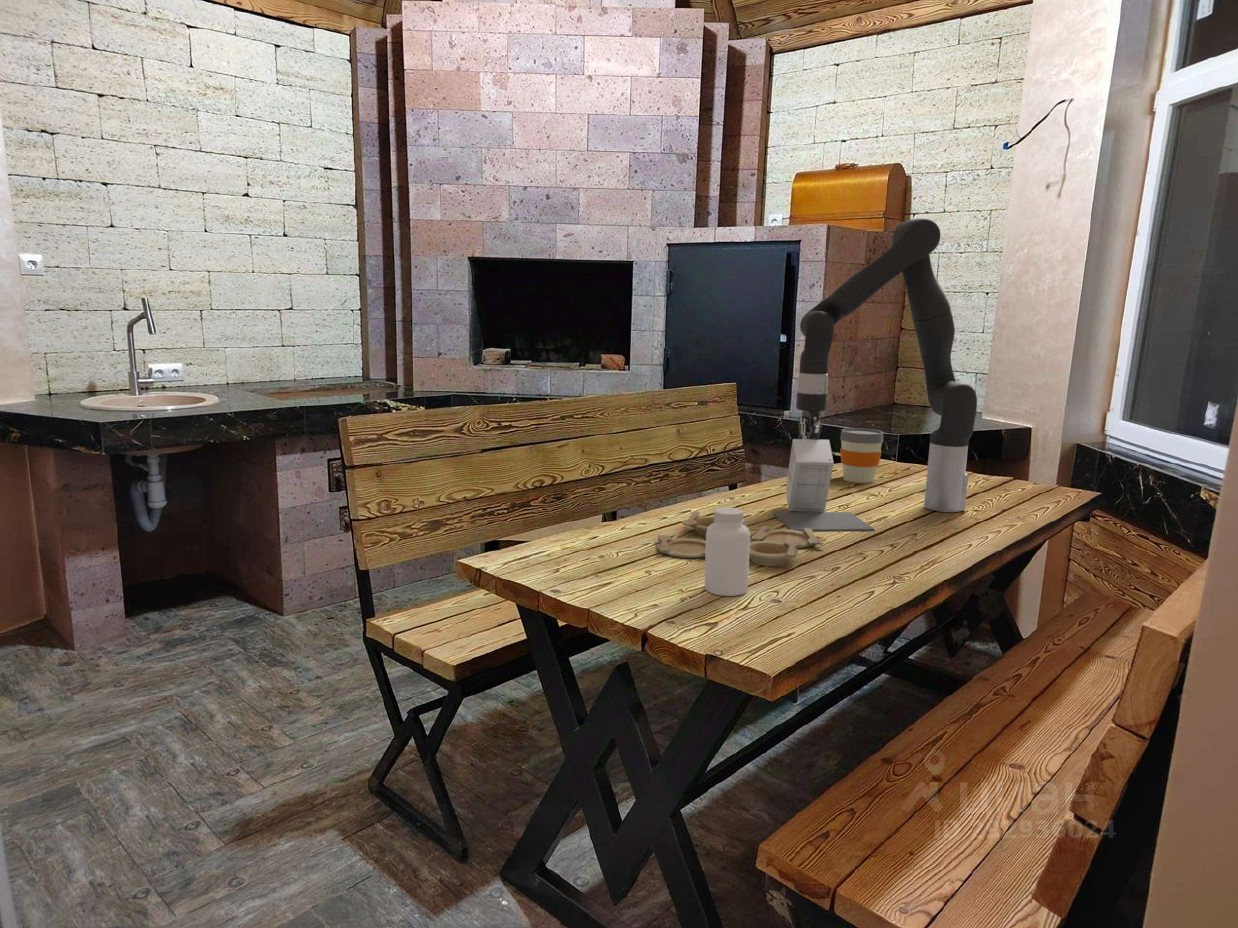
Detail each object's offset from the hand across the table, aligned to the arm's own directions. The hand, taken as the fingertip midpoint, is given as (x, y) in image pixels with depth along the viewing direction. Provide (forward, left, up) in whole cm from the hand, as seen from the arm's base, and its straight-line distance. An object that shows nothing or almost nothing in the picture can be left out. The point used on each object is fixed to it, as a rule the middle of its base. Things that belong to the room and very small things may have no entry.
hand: (807, 458), depth 210 cm
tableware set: (+25, +33, -14) cm, 43 cm away
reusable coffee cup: (-28, -35, -13) cm, 47 cm away
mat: (0, +14, -13) cm, 19 cm away
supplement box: (0, 0, -11) cm, 11 cm away
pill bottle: (+34, +61, -13) cm, 71 cm away
